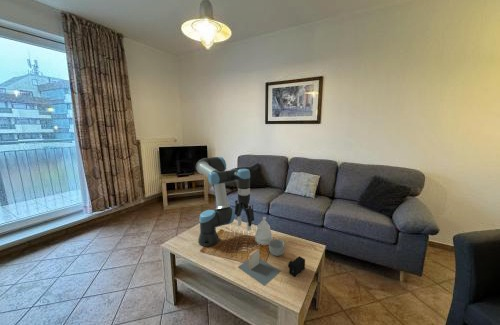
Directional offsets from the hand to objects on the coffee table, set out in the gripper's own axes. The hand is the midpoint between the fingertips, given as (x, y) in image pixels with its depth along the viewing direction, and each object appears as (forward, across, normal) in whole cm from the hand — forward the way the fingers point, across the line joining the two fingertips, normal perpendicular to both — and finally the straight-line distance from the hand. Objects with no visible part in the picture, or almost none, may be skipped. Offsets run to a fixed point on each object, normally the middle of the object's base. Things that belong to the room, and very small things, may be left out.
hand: (244, 227), depth 133 cm
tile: (+23, +9, 0) cm, 25 cm away
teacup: (+23, +10, +22) cm, 34 cm away
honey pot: (+24, -6, +27) cm, 36 cm away
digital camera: (+24, +30, +15) cm, 41 cm away
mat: (+23, +13, 0) cm, 27 cm away
